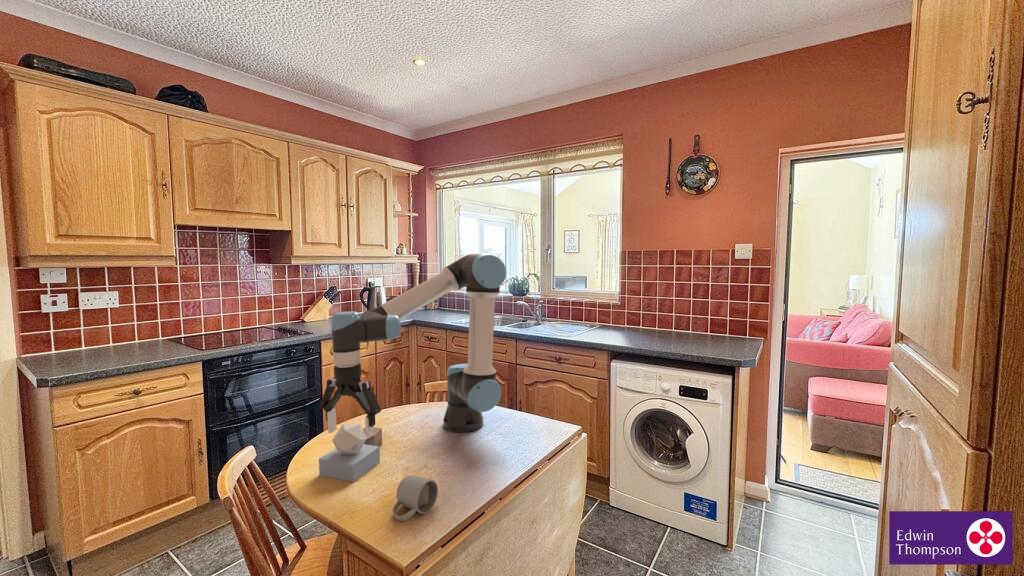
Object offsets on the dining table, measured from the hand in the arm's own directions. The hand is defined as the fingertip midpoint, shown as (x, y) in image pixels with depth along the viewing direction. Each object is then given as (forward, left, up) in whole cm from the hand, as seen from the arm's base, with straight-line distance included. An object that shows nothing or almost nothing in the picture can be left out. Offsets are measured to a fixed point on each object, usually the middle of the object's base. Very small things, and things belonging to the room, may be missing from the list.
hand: (351, 434), depth 123 cm
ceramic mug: (-29, +12, -11) cm, 33 cm away
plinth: (0, 0, -10) cm, 11 cm away
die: (0, 0, -6) cm, 6 cm away
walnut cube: (+3, -13, -11) cm, 17 cm away
